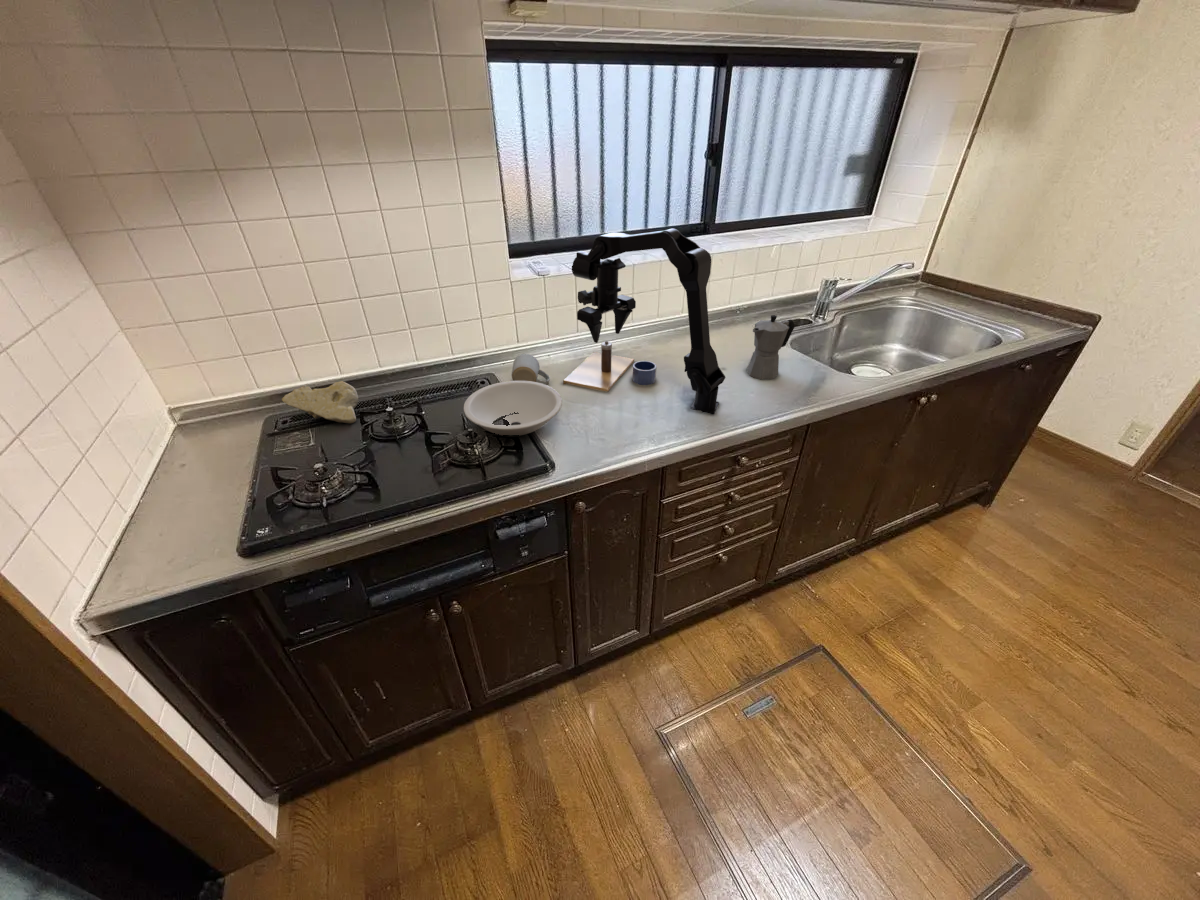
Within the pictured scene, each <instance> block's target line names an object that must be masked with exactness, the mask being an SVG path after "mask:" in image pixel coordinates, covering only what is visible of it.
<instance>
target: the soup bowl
mask: <svg viewBox="0 0 1200 900" xmlns="http://www.w3.org/2000/svg"><path fill="white" fill-rule="evenodd" d="M562 407H563V399H562V395H561V394H560V393H559V391H557V390H556V389H555V388H553V387H552V386H549V385H548V384H547V385H545V384H542V383H538V382H532V381H513V380H508V381H500V382H496V383H493V384H489V385H486V386H484V387H481V388H479V389H477V390H476V391H474V392H473V393H471V394H470V395H469V396H468V397H467V398H466V400H465V401H464V404H463V413H464V416H465V417H466V418H467V419H468V420H469V421H470V422H471V423H473V424H475V425H477V426H479V427H481V428H482V429H484V430H485V431H487V432H490V433H492V434H494V433H495V434H494V435H498V434H499V436H503V435H519V436H524V435H528V434H532V433H533V432H536V431H537V430H539V429H541V428H542V427H544V426H545V425H546V424H548V422H549V421H550V420H551V419H552V418H554V417H555V416H557V414H558V413H559V412H560V411H561V408H562ZM514 412H515V413H517V412H518V413H519V414H513V415H509V414H510V413H511V414H512V413H514ZM505 415H509V416H506V417H505V418H503V419H505V420H507V421H508V422H509V424H510V425H508V426H506V425H494V424H492V423H493V421H494V420H496V419H497V418H499V417H501V416H505ZM515 423H517V424H515ZM518 423H519V424H518ZM512 424H513V425H512Z"/></svg>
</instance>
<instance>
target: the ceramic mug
mask: <svg viewBox="0 0 1200 900" xmlns="http://www.w3.org/2000/svg"><path fill="white" fill-rule="evenodd" d="M540 366H541V365H540V362H539V360H538V359H537V358H536V357H535V356H534V355H532V354H530V353H520V354H519V355H517V356H516V357H515V358H514V360H513V363H512V368H511V369H512V370H511V379H512V380H511V381H532V382H538V383H542V384H545V385H547V386H548V384H549V383H550V380H551V377H550V375H549V374H548V373H546V372H545V371H543V370H542V369H540ZM538 376H541V377H542V378H544V379H545V380H541V379H539V378H538Z"/></svg>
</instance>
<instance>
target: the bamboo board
mask: <svg viewBox="0 0 1200 900" xmlns="http://www.w3.org/2000/svg"><path fill="white" fill-rule="evenodd" d="M634 363H635V358H632V357H626V356H625V357H624V356H620V355H615V354H614V355H613V354H612V358H611V372H608V373H605V372H602V371H601V352H596V351H593V352H592V353H590V355H588V357H586V358H585V359H584V360H583V361H582V362H581V363H580V364H579V365H577V367H576V368H575V369H573V371H572V372H570V373H569V374H568V375H567V376H566V377H565V378H564V379H563V380H562V383H563V385H566V384H567V385H573V386H578V387H583V388H588V389H592V390H597V391H603V392H606V393H607V392H609V391H610V390H611V389H612V387H614V385H615V384H616V383H617V382H618V381H619V380H620V378H621V377H622V376H623V375H624V374H625V372H626V371H627V370H628V369H629V368H630V367H631V365H633V364H634Z"/></svg>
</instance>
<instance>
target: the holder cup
mask: <svg viewBox="0 0 1200 900" xmlns="http://www.w3.org/2000/svg"><path fill="white" fill-rule="evenodd" d="M657 368H658V367H657V364H656V363H655V362H653V361H650V360H639V361H638V360H637V361H634V362H633V363H632V375H631V380H632V382H633V383H634V384H636V385H640V386H650V385H653V384H655V382H656V381H657Z"/></svg>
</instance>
